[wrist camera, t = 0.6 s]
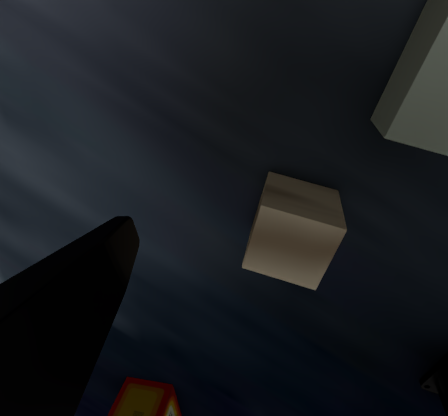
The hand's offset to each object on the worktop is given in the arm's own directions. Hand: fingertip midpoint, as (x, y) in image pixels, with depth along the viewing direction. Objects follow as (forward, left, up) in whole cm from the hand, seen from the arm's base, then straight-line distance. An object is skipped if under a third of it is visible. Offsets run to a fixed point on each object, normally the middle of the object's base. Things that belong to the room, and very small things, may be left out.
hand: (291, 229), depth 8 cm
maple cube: (-7, -2, -13) cm, 15 cm away
